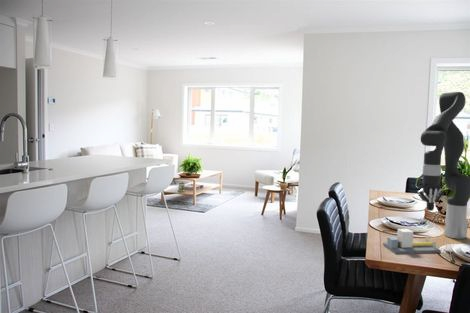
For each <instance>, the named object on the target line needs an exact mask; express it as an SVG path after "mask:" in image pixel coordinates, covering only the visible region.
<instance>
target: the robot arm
mask: <svg viewBox="0 0 470 313" xmlns="http://www.w3.org/2000/svg"><path fill="white" fill-rule="evenodd" d="M466 100H467V99H466V95H465V94H464V92H463V91H454V92H445V93H441V94H440V96H439V101H438V104H439V112H440V113H439V114H438V115H437V116H436V117H435V119H434V120H433V122H432V124H431V125H430V126H428V127H427V128H426V129H424V130H423V132H422V133H421V135H420V143H421V144H422V145H423V146H426V147H435V149H434V150H427V151H425V152H424V157H423V158H424V160H423V166H422V168H423V169H422V186H421V189H420V190H417V191H416V192H417V194H418V196H419V197H420V199H421V200H422V201H424V202H426V209H427V211H430V212H432V211H434V209H435V202H439V200H440V199H441V198H442V196H444V194H445V193H446V191H445V190H443V189H442V188H441V178H442V175H441V174H442V166H441V163H442V153H443V151H444V184H445V188H447V189H448V190H450V191H454V195H453V196H450V197H448V198H447V200H446V212H445V213H446V214H445V225H444V227H445V228H444V236H445V237H448V238H451V239H455V240H456V239H457V240H458V239H459V240H462V239H467V234H468V222H469V220H468V219H467V210H468V209H467V208H468V202H469V200H470V176H469V175H468V174H464V173H459V172H458V171H459V170H458V166H459V165H458V164H459V160H460V159H461V156H462V155H463V153H464V152H465V151H464V150H465V139H464V138H465V137H464V134H463V132H462V131H461V130H460V128H459V127H458V126H457V125H456V124H455V123H454V120H455V119H456V118H457V116H458V115H459V114H460V113H461V112H462V111H463V109H464V108H465V106H466V102H467V101H466Z"/></svg>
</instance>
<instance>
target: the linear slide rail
mask: <svg viewBox="0 0 470 313" xmlns="http://www.w3.org/2000/svg"><path fill="white" fill-rule="evenodd" d="M429 239H430V238H429V236H425V241H413V246H412V247H407V248H402V247H401V243H400V242H398V240H397V237H394V236H387V240H386V241H387V242H383V243H382V244H383V246H384V247H385V248H386V249H388V250H390V251H391V252H392V253H393V254H396V255H397V254H398V255H399V254H434V253H435V254H437V253H438V254H440V253H442V249H440V248H438V247H437V241H436V240H432V241H429Z"/></svg>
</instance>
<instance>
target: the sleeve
mask: <svg viewBox="0 0 470 313" xmlns="http://www.w3.org/2000/svg"><path fill="white" fill-rule="evenodd" d="M396 232H397V233H396V239H397V240H398V242H400V243H401V247H402V248H407V247H412V246H413V242H414V231H413V230H411V229H409V228H397V231H396Z"/></svg>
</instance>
